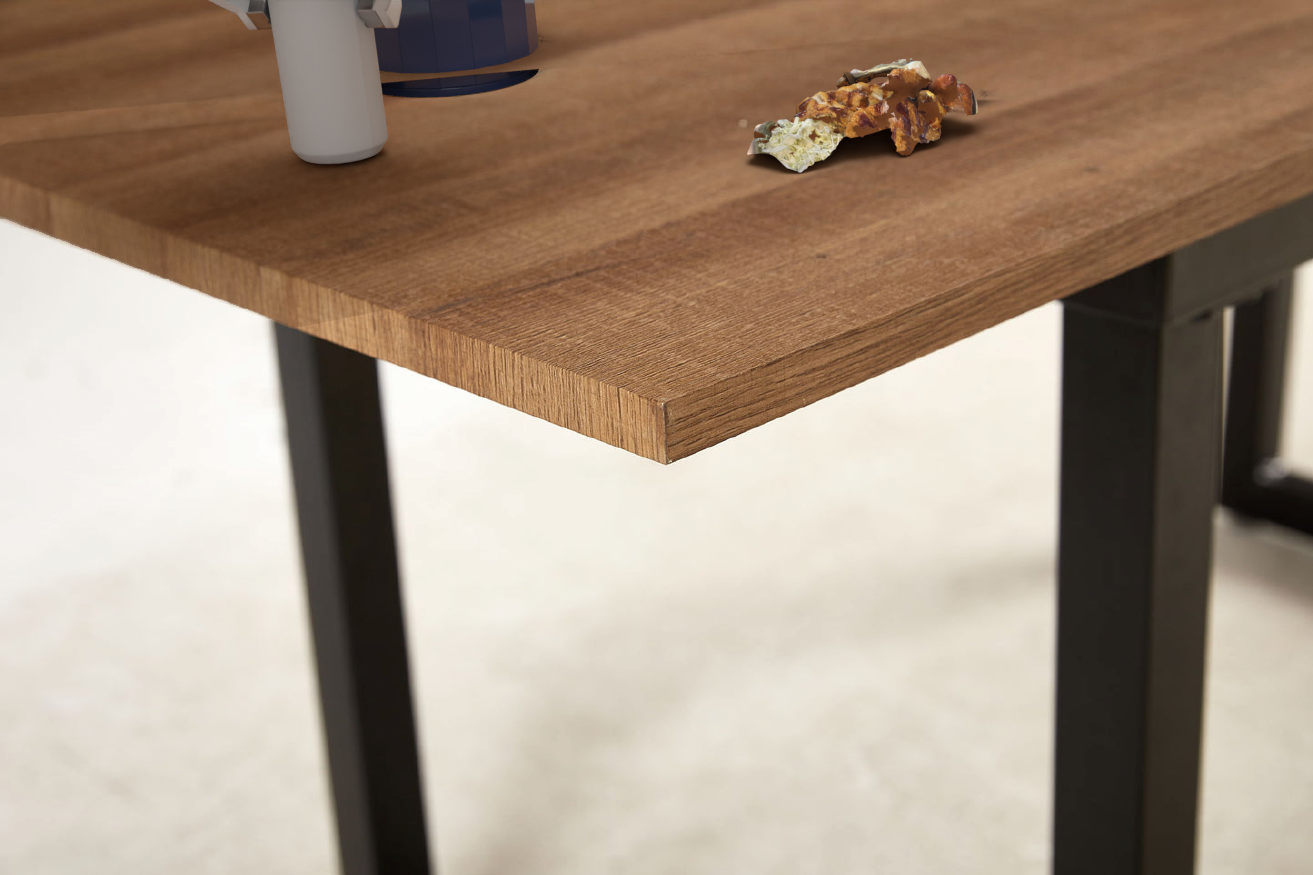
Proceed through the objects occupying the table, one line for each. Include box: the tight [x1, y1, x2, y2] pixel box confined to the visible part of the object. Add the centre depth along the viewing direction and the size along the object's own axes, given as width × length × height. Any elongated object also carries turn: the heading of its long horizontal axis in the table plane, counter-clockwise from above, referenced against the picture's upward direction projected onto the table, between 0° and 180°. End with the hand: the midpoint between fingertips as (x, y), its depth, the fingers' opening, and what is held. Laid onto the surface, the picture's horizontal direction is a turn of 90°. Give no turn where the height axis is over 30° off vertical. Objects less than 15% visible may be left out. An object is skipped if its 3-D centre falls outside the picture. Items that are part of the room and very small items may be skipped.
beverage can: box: [268, 0, 389, 165], centre depth 75 cm, size 5×5×12 cm
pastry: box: [746, 57, 979, 173], centre depth 75 cm, size 7×12×4 cm, turn 133°
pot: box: [374, 0, 540, 99], centre depth 91 cm, size 10×10×8 cm
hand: (325, 17), depth 76 cm, fingers closed on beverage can, 5 cm apart
